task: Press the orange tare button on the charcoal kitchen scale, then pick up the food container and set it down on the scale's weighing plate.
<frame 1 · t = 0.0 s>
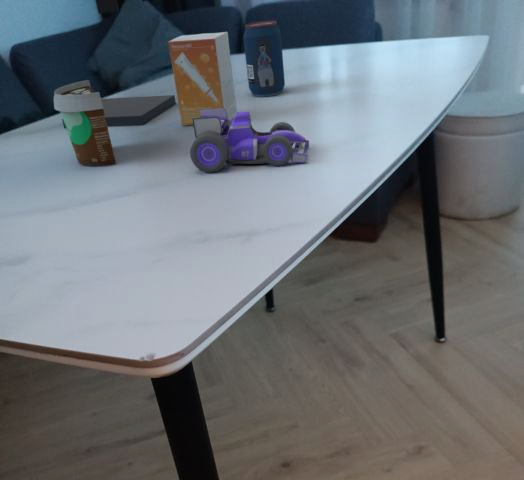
hand: (131, 6, 84), 19 cm above the table, tool pointing down, fingers open, 13 cm apart
toy race car: (253, 160, 82), on the table
scale: (122, 116, 112), on the table
food container: (91, 161, 90), on the table
soda can: (267, 94, 115), on the table
small box: (210, 122, 102), on the table
tare button: (77, 100, 108), point 4 cm above the table, slide at 0.1 cm
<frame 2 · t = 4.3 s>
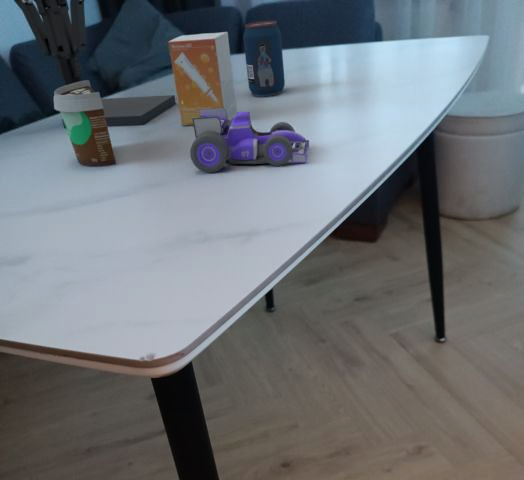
hand: (77, 96, 108), 5 cm above the table, tool pointing down, fingers closed
tare button: (78, 103, 109), point 3 cm above the table, slide at -0.4 cm, touching gripper
everything else where it was.
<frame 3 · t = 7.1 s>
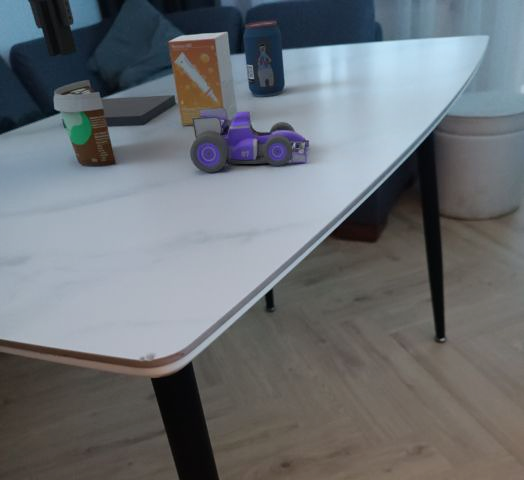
hand: (63, 53, 81), 15 cm above the table, tool pointing down, fingers closed
tare button: (77, 100, 108), point 4 cm above the table, slide at 0.1 cm
everything else where it was.
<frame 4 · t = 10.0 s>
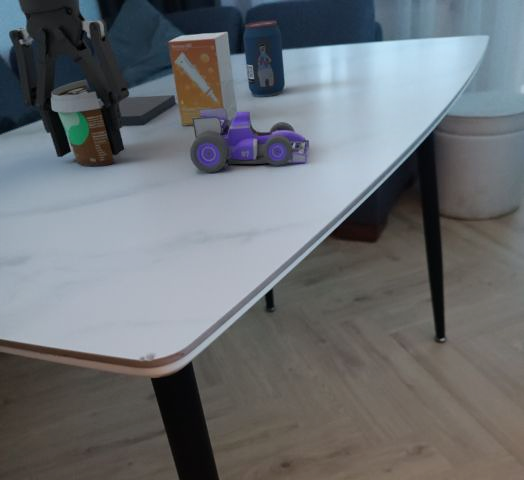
hand: (90, 153, 89), 1 cm above the table, tool pointing down, fingers closed on food container, 8 cm apart
food container: (90, 161, 90), on the table, touching gripper
everything else where it was.
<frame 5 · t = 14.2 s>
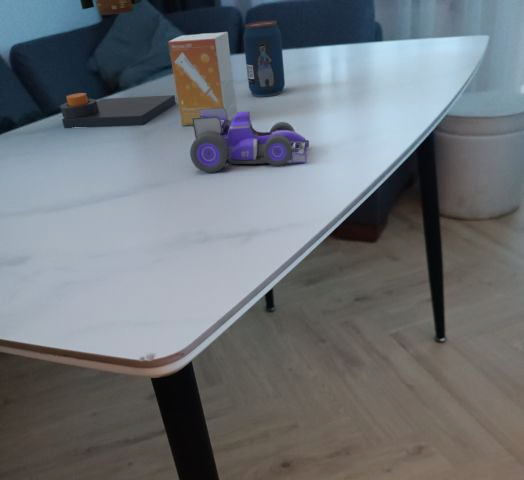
hand: (112, 5, 100), 18 cm above the table, tool pointing down, fingers closed on food container, 8 cm apart
food container: (111, 13, 101), point 17 cm above the table, touching gripper
everything else where it was.
when the fingers open (3 cm above the table, at t = 18.3 s): food container stays where it is, resting on scale.
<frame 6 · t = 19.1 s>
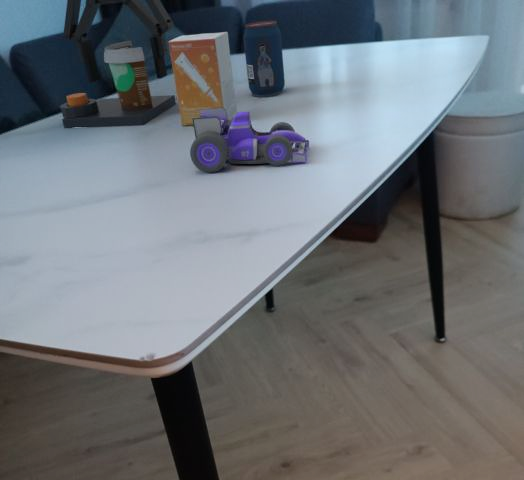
hand: (128, 79, 108), 6 cm above the table, tool pointing down, fingers open, 13 cm apart
food container: (132, 107, 110), point 2 cm above the table, touching scale
everything else where it was.
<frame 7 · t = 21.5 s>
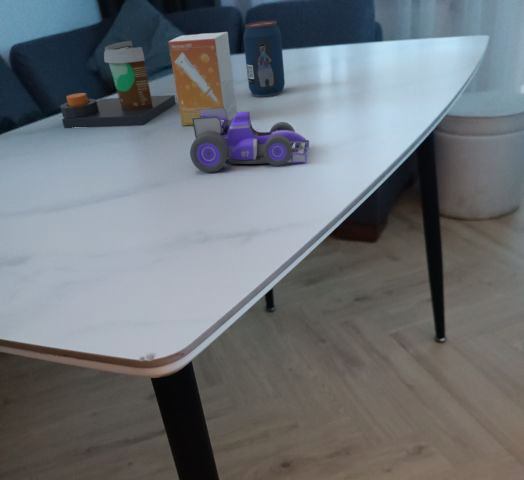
nothing on the table moved.
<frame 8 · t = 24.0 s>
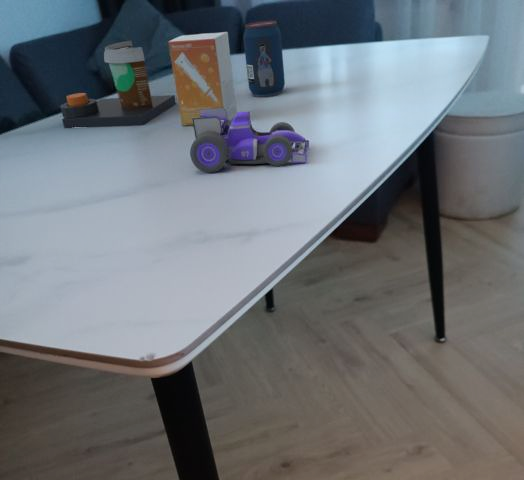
nothing on the table moved.
at the end: tare button pushed in 1.0 cm at the most during the clip, back to where it started at the end; food container inside the target area on the scale (0.0 cm from its centre), point 1.5 cm above the scale's base; food container touching scale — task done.
